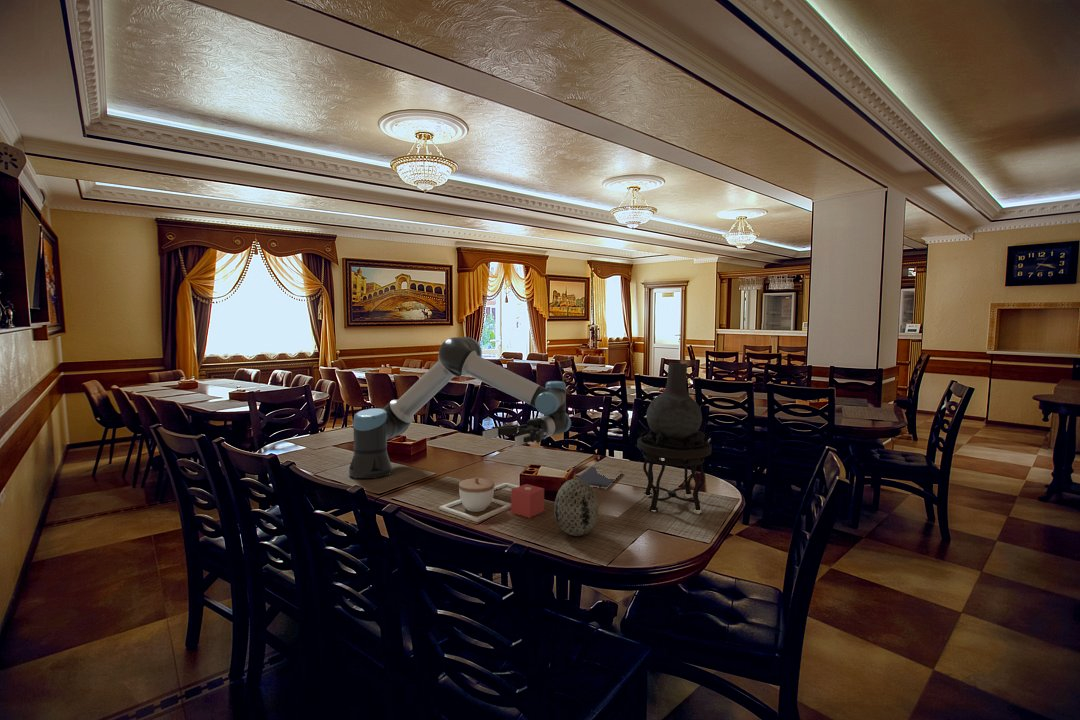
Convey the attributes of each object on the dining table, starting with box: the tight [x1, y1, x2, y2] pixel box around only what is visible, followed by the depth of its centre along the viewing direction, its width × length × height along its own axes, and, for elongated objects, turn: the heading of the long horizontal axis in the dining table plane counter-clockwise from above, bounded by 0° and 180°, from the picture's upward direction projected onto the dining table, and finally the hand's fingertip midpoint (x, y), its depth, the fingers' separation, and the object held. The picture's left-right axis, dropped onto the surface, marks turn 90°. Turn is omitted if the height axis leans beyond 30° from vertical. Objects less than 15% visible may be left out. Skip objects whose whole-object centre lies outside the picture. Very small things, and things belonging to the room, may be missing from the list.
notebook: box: [575, 466, 614, 489], centre depth 183 cm, size 13×2×21 cm
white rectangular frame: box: [438, 482, 520, 523], centre depth 157 cm, size 31×16×1 cm, turn 143°
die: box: [510, 483, 545, 519], centre depth 148 cm, size 7×7×7 cm
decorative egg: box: [553, 478, 599, 537], centre depth 133 cm, size 12×12×15 cm
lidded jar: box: [458, 477, 495, 513], centre depth 151 cm, size 11×11×9 cm
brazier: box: [636, 362, 713, 511], centre depth 156 cm, size 22×22×45 cm
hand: (499, 438), depth 158 cm, fingers open, 13 cm apart
